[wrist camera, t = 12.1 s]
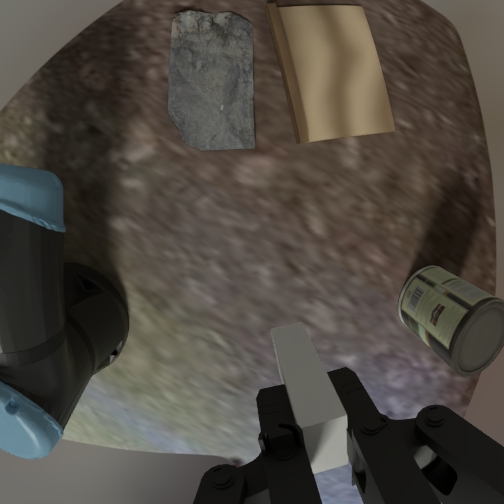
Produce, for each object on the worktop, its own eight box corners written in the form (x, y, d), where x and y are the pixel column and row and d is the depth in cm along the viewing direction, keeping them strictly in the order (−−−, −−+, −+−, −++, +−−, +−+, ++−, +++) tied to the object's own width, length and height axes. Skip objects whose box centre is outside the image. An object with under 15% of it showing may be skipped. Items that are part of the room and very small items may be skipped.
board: (296, 144, 36) (300, 142, 34) (265, 10, 32) (267, 3, 30) (393, 131, 37) (400, 130, 35) (360, 7, 32) (365, 2, 30)
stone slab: (259, 148, 35) (168, 153, 33) (257, 149, 36) (170, 154, 35) (252, 8, 31) (168, 11, 29) (250, 14, 32) (170, 17, 31)
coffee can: (447, 321, 44) (500, 364, 31) (394, 335, 44) (444, 388, 30) (455, 260, 42) (518, 292, 28) (400, 269, 41) (461, 309, 28)
